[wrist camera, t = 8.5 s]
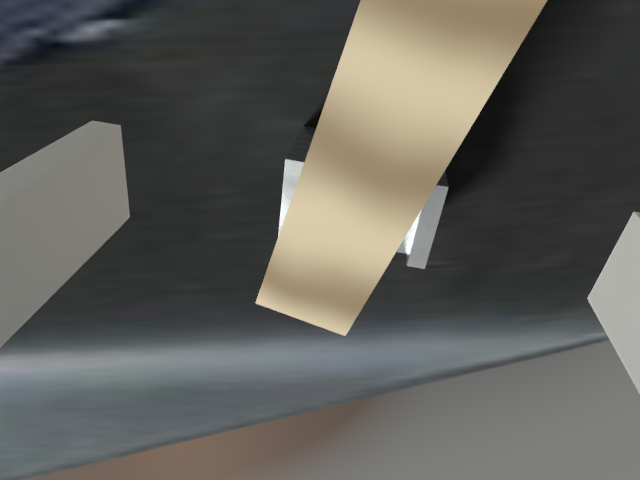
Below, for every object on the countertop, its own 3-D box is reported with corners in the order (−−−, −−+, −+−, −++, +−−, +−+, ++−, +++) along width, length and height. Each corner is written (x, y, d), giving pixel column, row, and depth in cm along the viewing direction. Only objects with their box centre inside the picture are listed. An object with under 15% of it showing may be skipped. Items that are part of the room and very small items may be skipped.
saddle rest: (295, 199, 38) (277, 242, 32) (303, 125, 35) (285, 159, 29) (421, 221, 37) (424, 268, 32) (440, 148, 34) (448, 187, 28)
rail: (364, 238, 31) (345, 336, 25) (292, 211, 31) (255, 303, 25) (558, -132, 18) (614, -112, 12) (433, -186, 18) (427, -193, 12)
